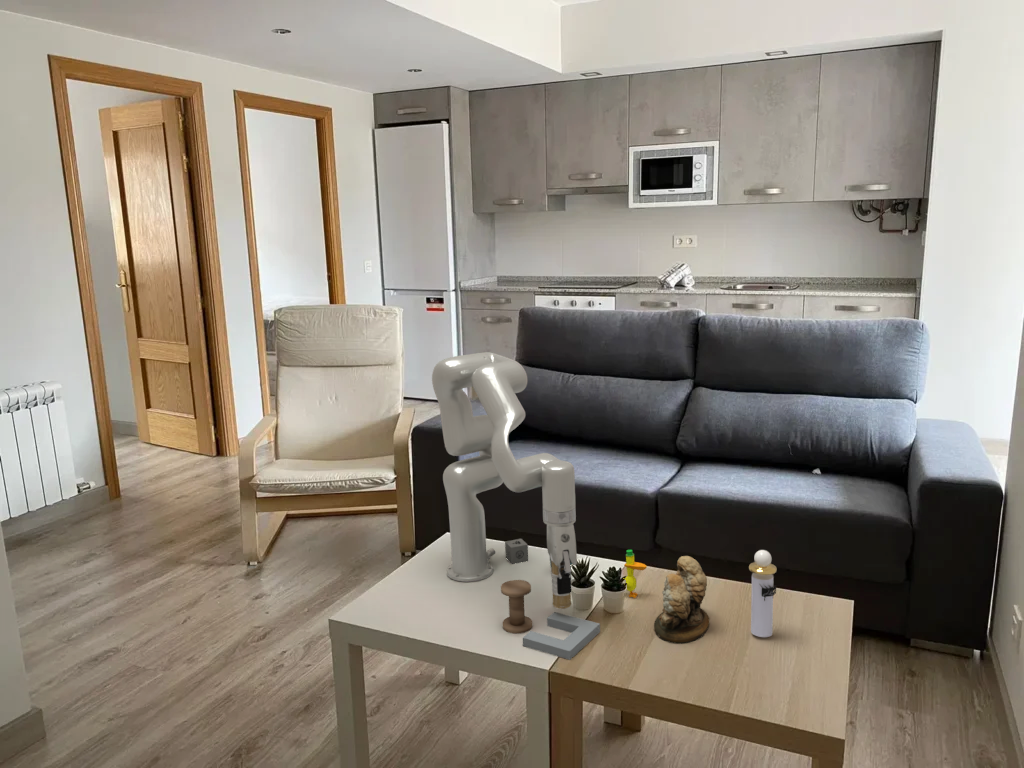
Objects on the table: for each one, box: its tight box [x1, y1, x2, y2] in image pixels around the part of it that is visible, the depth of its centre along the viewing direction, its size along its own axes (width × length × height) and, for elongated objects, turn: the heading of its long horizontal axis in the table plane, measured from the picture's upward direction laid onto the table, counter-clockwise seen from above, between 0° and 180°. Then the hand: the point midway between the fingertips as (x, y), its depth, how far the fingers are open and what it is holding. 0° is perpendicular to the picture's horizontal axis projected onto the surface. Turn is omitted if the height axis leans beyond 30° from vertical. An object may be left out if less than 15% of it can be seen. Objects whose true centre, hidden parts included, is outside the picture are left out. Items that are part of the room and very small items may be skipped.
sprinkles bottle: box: [550, 553, 572, 610], centre depth 185 cm, size 5×5×14 cm
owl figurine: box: [653, 555, 710, 645], centre depth 180 cm, size 18×12×17 cm, turn 153°
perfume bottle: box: [748, 549, 777, 638], centre depth 174 cm, size 6×6×20 cm
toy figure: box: [623, 549, 648, 599], centre depth 196 cm, size 7×4×12 cm, turn 63°
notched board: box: [522, 611, 601, 661], centre depth 178 cm, size 14×12×2 cm
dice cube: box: [504, 538, 529, 565], centre depth 223 cm, size 5×5×5 cm
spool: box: [500, 579, 534, 635], centre depth 184 cm, size 7×7×10 cm
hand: (561, 587), depth 185 cm, fingers closed on sprinkles bottle, 4 cm apart
